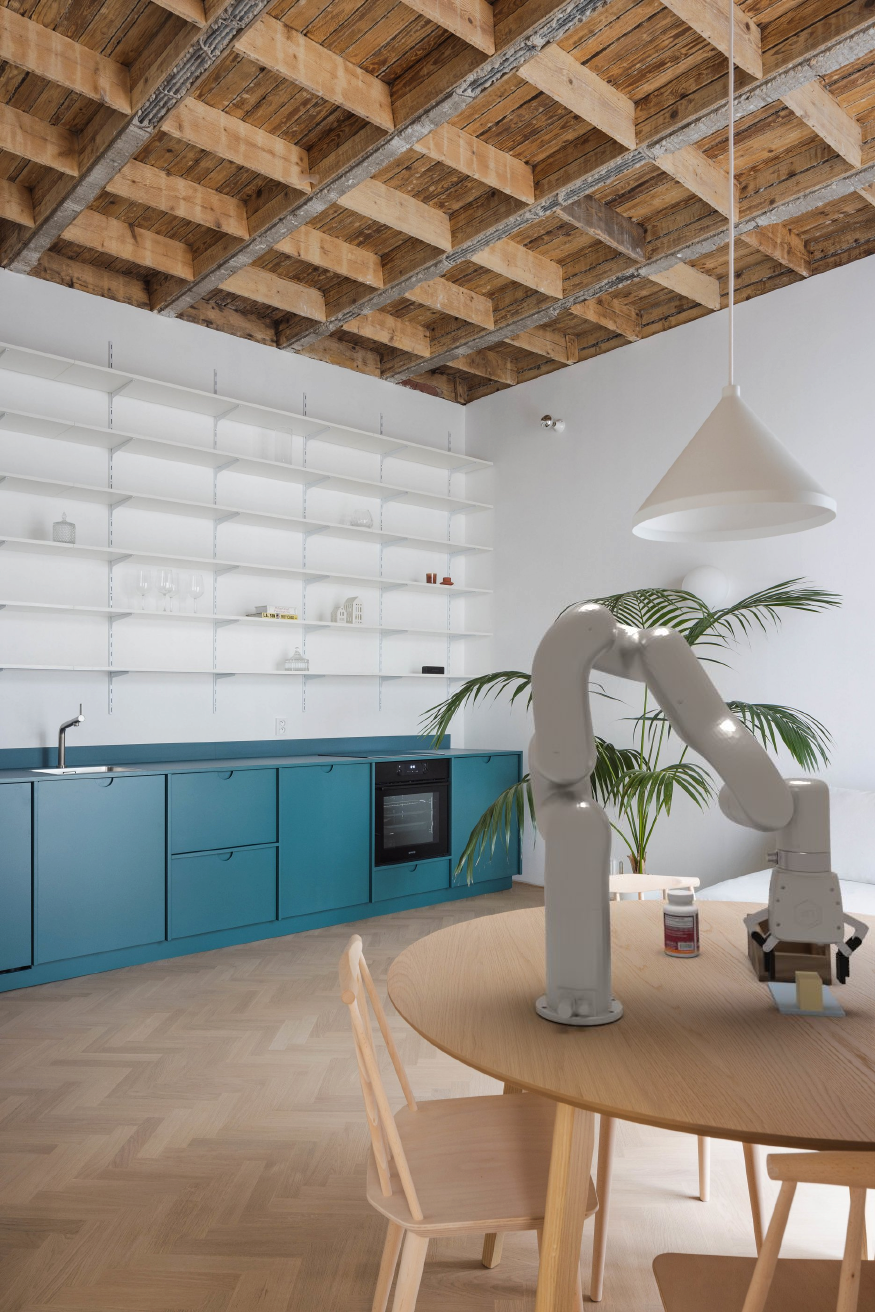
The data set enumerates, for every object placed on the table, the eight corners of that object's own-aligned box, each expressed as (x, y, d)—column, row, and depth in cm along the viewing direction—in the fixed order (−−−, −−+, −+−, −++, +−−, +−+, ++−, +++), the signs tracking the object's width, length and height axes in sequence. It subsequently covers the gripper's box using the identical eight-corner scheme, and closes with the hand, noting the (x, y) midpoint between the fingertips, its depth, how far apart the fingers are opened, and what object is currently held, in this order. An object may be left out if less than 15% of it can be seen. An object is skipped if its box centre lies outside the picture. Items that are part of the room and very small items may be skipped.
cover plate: (845, 1020, 129) (844, 982, 130) (780, 1016, 131) (779, 978, 131) (826, 991, 143) (824, 956, 143) (767, 988, 145) (766, 954, 145)
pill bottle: (678, 947, 168) (676, 887, 169) (706, 954, 163) (705, 892, 164) (657, 953, 164) (655, 892, 165) (686, 960, 159) (684, 897, 160)
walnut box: (831, 985, 144) (830, 938, 145) (759, 981, 147) (757, 935, 147) (813, 958, 160) (811, 916, 160) (748, 955, 162) (746, 913, 163)
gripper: (745, 863, 133) (747, 982, 132) (872, 868, 129) (875, 991, 128) (739, 856, 140) (741, 968, 139) (860, 860, 136) (863, 976, 135)
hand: (805, 979), depth 133 cm, fingers open, 9 cm apart
